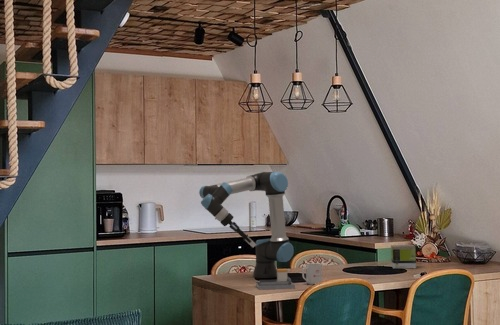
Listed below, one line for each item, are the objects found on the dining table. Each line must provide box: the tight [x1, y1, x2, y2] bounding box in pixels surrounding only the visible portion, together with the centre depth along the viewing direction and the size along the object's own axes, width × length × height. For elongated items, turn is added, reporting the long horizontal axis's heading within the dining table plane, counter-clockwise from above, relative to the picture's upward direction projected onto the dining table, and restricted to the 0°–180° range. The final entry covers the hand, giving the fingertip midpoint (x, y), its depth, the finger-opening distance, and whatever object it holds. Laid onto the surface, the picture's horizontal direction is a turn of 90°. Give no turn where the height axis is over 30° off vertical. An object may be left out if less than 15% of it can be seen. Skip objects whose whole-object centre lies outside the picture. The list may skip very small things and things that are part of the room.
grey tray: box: [255, 276, 296, 291], centre depth 388 cm, size 20×13×5 cm, turn 97°
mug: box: [301, 263, 323, 286], centre depth 397 cm, size 12×9×11 cm
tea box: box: [390, 244, 417, 269], centre depth 458 cm, size 15×10×15 cm, turn 84°
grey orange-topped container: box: [276, 268, 288, 282], centre depth 389 cm, size 5×5×8 cm
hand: (254, 246), depth 387 cm, fingers closed
